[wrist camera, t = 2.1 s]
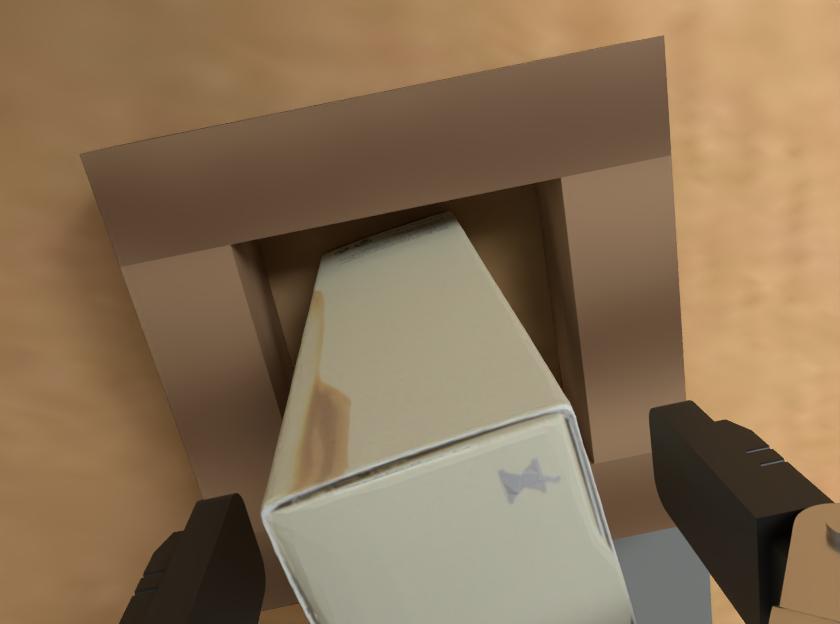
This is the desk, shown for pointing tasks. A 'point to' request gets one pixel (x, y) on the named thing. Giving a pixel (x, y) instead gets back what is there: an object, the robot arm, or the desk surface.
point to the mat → (664, 578)
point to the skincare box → (432, 452)
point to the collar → (397, 190)
